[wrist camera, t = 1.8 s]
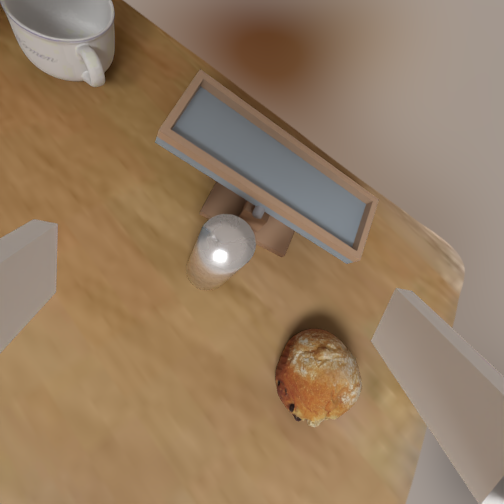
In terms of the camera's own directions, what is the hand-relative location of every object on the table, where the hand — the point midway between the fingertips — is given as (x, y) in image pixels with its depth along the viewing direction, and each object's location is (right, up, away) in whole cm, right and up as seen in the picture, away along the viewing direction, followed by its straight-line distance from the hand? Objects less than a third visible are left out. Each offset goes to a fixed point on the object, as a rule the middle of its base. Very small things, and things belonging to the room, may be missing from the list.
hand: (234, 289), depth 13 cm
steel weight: (-5, -1, +27) cm, 27 cm away
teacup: (-22, +25, +29) cm, 44 cm away
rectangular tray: (+3, +10, +26) cm, 28 cm away
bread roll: (+8, -14, +27) cm, 31 cm away
